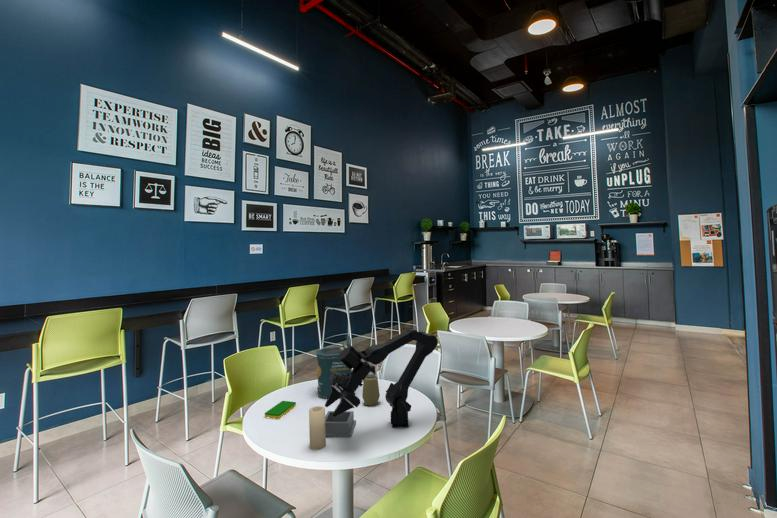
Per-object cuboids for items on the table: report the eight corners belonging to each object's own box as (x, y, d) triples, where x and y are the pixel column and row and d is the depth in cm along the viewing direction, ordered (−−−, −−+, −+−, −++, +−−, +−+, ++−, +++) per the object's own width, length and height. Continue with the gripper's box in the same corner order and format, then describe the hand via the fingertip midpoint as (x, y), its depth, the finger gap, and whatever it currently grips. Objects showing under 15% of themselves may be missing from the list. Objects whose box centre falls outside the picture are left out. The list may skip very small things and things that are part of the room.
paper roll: (327, 441, 131) (326, 405, 131) (323, 449, 125) (322, 412, 125) (312, 441, 131) (311, 405, 131) (307, 449, 126) (306, 412, 126)
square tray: (356, 422, 146) (355, 410, 146) (351, 437, 134) (350, 424, 134) (326, 422, 146) (326, 410, 146) (319, 437, 134) (319, 423, 134)
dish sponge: (296, 407, 163) (296, 401, 163) (278, 420, 150) (278, 414, 150) (282, 405, 165) (282, 400, 165) (264, 418, 152) (264, 413, 152)
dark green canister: (352, 397, 172) (351, 339, 172) (318, 401, 169) (316, 341, 169) (348, 385, 188) (347, 332, 188) (317, 389, 184) (315, 334, 184)
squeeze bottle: (364, 408, 159) (363, 367, 159) (360, 401, 167) (359, 362, 167) (381, 405, 161) (380, 366, 161) (377, 399, 169) (376, 361, 169)
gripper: (334, 357, 141) (307, 390, 136) (351, 369, 124) (320, 408, 119) (353, 373, 144) (327, 406, 140) (372, 388, 128) (343, 426, 123)
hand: (329, 411), depth 130 cm, fingers open, 9 cm apart
